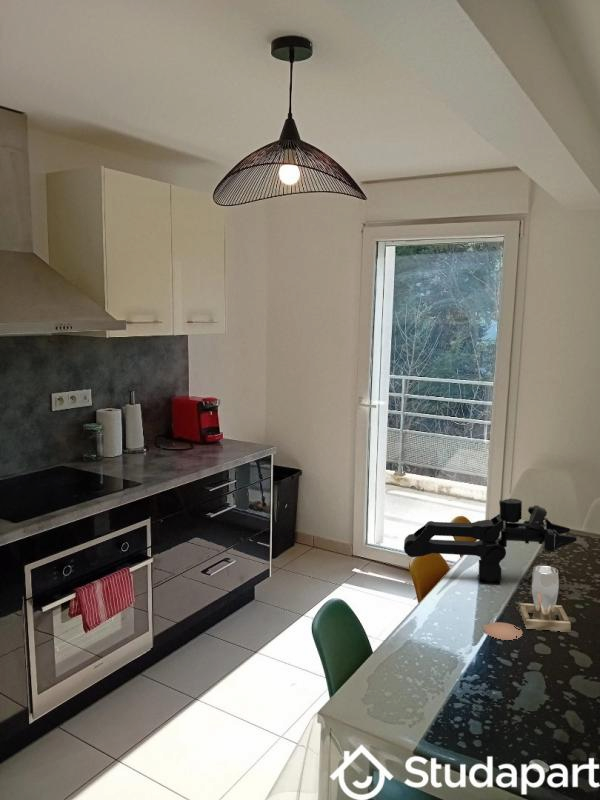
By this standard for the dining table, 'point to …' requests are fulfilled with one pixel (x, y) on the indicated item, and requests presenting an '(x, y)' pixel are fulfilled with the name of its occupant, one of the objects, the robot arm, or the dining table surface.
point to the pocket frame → (550, 625)
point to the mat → (502, 631)
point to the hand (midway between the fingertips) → (573, 534)
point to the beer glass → (544, 592)
